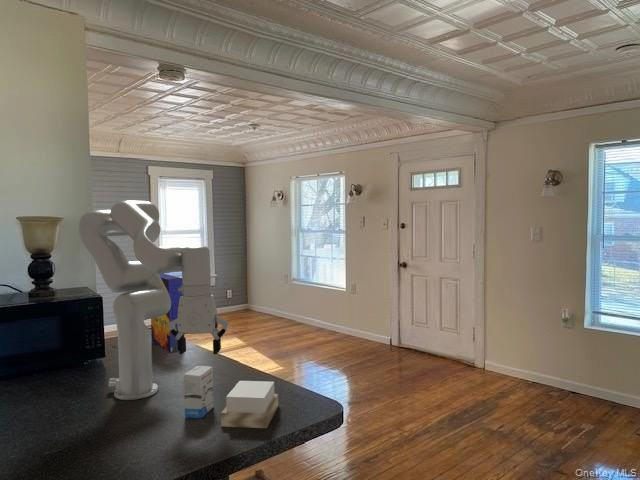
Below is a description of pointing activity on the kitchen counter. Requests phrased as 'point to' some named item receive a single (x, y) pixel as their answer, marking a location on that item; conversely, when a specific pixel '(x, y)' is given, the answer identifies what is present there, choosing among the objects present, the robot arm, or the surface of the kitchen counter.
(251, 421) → the lower block
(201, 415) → the ink box
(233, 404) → the upper block
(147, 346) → the robot arm
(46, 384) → the kitchen counter surface
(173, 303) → the cereal box
